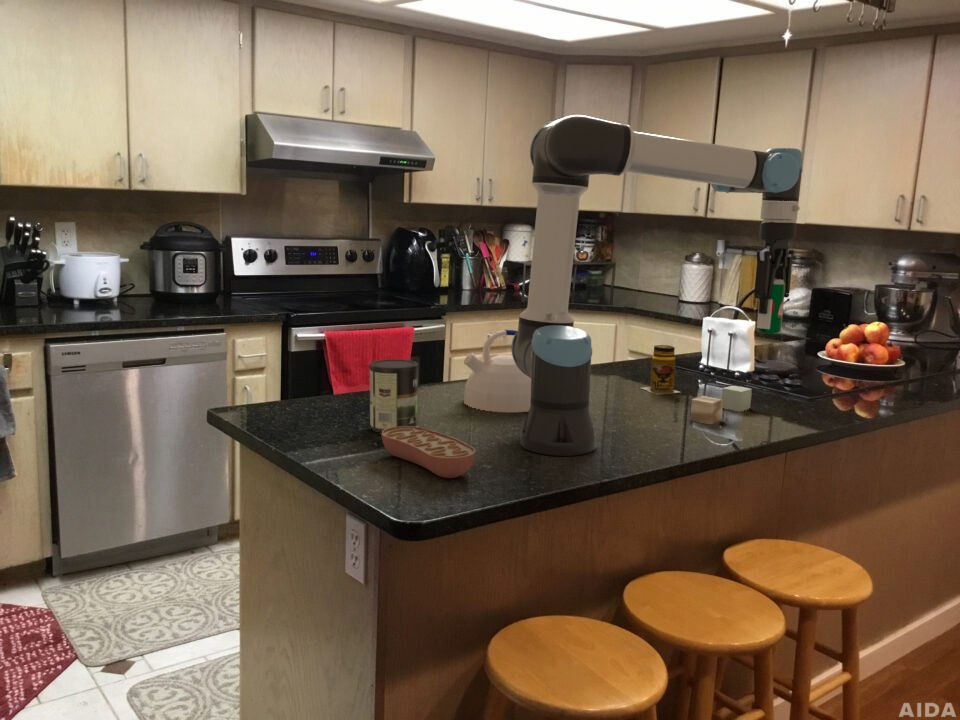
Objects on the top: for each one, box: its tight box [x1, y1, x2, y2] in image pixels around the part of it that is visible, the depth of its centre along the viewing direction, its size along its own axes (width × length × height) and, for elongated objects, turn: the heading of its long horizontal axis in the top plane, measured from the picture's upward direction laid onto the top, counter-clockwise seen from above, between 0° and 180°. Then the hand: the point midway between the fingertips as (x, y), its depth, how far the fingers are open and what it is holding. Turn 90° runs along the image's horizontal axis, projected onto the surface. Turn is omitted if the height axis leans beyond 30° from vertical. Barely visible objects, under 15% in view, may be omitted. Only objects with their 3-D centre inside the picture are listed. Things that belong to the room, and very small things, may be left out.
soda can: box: [756, 278, 785, 335], centre depth 186 cm, size 5×5×12 cm
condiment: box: [641, 344, 680, 395], centre depth 220 cm, size 7×8×12 cm
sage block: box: [721, 385, 753, 413], centre depth 202 cm, size 5×5×5 cm
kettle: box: [463, 329, 531, 414], centre depth 202 cm, size 20×21×18 cm
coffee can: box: [368, 358, 419, 431], centre depth 178 cm, size 10×10×14 cm
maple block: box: [689, 395, 723, 425], centre depth 190 cm, size 5×5×5 cm
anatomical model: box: [380, 426, 476, 479], centre depth 154 cm, size 23×10×5 cm, turn 39°
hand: (769, 326), depth 187 cm, fingers closed on soda can, 5 cm apart
